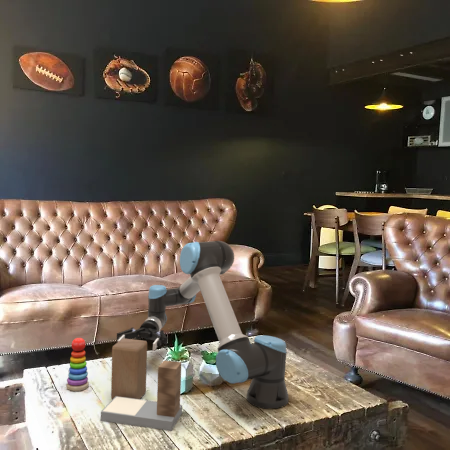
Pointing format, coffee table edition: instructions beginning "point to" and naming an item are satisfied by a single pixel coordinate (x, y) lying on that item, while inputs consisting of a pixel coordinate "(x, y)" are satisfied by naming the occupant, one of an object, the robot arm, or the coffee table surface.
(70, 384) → the stacking toy
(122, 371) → the block
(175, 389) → the walnut pillar
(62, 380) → the coffee table surface
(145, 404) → the foundation
